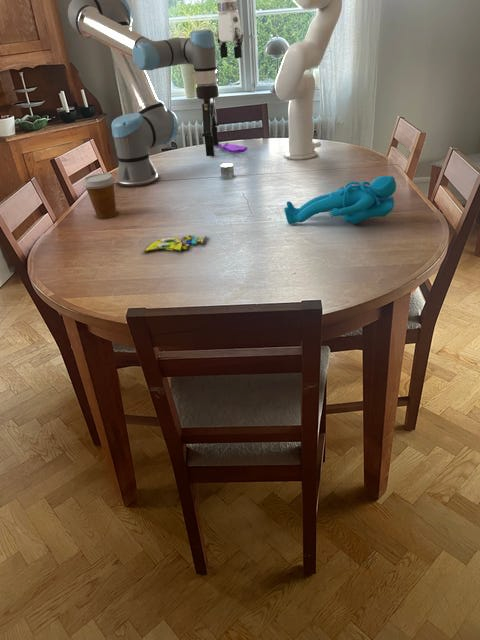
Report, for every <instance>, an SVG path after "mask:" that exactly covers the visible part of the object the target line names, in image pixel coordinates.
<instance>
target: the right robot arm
mask: <svg viewBox="0 0 480 640" xmlns="http://www.w3.org/2000/svg"><path fill="white" fill-rule="evenodd" d="M292 2H293V3H294V4H295V5H296V6H297V7H298V8H300V9H301V10H305V11H310V10H317V11H316V13H315V15H314V16H313V18H312V20H311V22H310V23H309V26H308V29H307V32H306V34H305V36H304V38H303V39H302V40H301V41H300V40H299V41H296V42H294V43H292V44H290V46H289V47H288V48H287V50H286V51H285V53H284V56H283V59H282V61H281V64H280V67H279V70H278V73H277V76H276V79H275V84H274V91H275V95H276V96H277V98H278V99H279V100H281V101H283V102H289V103H288V108H287V109H288V110H287V114H288V116H287V118H288V119H287V120H288V151H286V152H285V155H284V156H285V158H286V159H289V160H307V159H308V160H309V159H311V158H314V157H316V156H317V151H316V148H320V147H321V146H322V143H321V142H320V141H317V142H314V141H313V134H314V133H313V128H314V127H313V125H314V124H313V120H314V117H313V115H314V111H313V110H314V98H315V97H314V96H315V90H316V79H315V76H314V74H313V73H312V72H311V71H310V70H314V69H316V68H318V67H319V66H320V64H321V63H322V61H323V59H324V56H325V53H326V51H327V48H328V46H329V44H330V41H331V38H332V36H333V33H334V31H335V28H336V26H337V24H338V21H339V19H340V16H341V14H342V9H343V0H292ZM216 4H217V5H216V6H217V29H218V30H217V33H216V34H215V36H216V40H217V43H218V46H219V53H220V58H221V59H223V58H224V59H225V58H228V56H229V54H228V46H227V44H228V43H229V42H230V43H232V44H233V55H234V59H241V58H242V57H243V55H242V53H243V52H242V47H243V41H244V35H245V34H244V33H243V32H242V26H241V25H242V24H241V19H240V13H239V11H238V4H237V0H216Z"/></svg>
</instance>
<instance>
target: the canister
mask: <svg viewBox="0 0 480 640" xmlns="http://www.w3.org/2000/svg"><path fill="white" fill-rule="evenodd" d="M234 169H235V168H234V164H233V163H228V162H227V163H226V162H225V163H222V164H220V176H221V179H223V180H230V179H234V178H235V171H234Z"/></svg>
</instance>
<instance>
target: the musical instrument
mask: <svg viewBox="0 0 480 640" xmlns="http://www.w3.org/2000/svg"><path fill="white" fill-rule="evenodd" d="M218 147H219V148H217V149H216V150H214V157H225V156H228V155H232V154H234V153H235V154H236V153H244V152H246V151H247V150H248V146H244V145H239V144H233V143H229V142H226V143H224V144H221V143H219V146H218ZM221 149H224V150H226V151H227V152H229V153H226V154H220V155H219V154H218V155H215V153H216V152H217V151H219V150H221Z"/></svg>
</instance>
